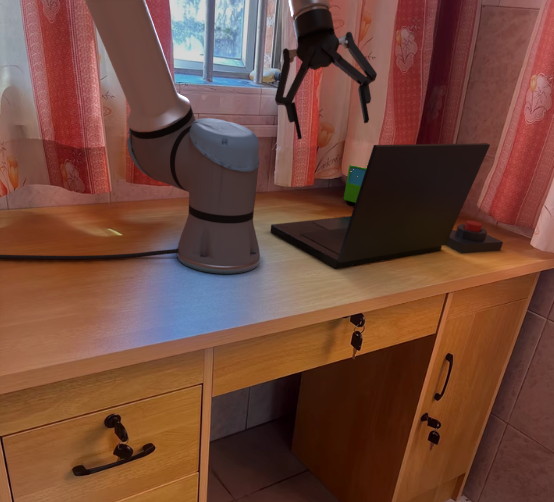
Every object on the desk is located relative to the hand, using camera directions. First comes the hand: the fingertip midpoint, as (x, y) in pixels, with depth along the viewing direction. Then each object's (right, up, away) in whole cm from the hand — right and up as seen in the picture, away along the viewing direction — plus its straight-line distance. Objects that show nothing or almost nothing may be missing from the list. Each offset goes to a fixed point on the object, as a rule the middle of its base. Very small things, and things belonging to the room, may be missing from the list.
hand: (333, 129), depth 112 cm
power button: (+33, -16, +16) cm, 40 cm away
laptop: (+6, -20, +11) cm, 24 cm away
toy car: (+13, -3, +41) cm, 43 cm away
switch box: (+33, -19, +18) cm, 42 cm away
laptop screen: (+15, -15, -4) cm, 22 cm away
